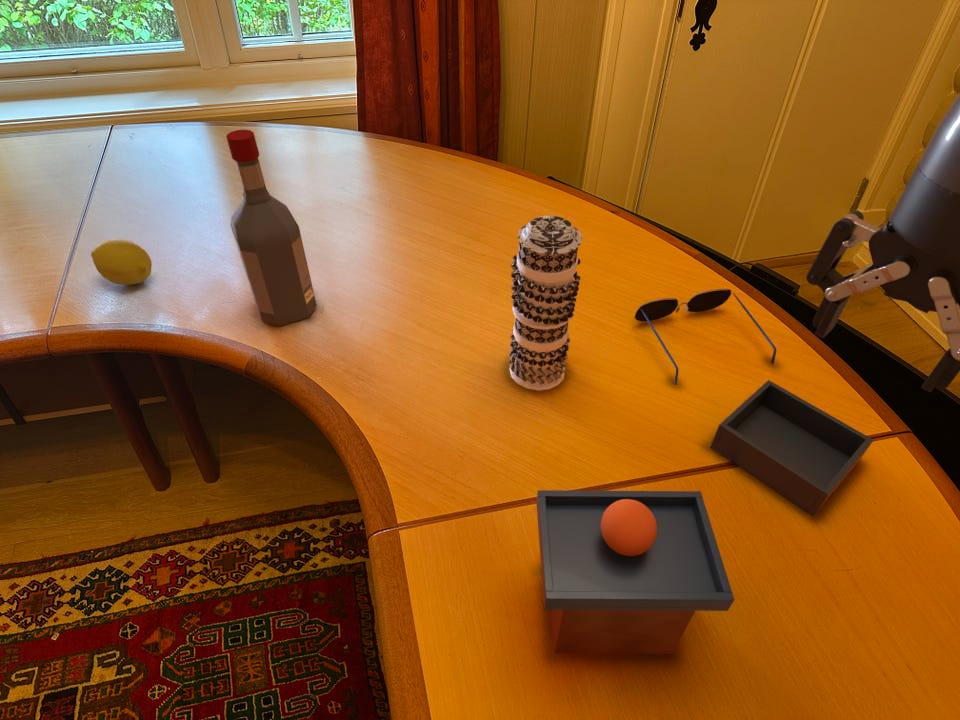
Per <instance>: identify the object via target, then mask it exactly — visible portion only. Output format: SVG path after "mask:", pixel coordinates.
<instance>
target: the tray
mask: <svg viewBox="0 0 960 720" xmlns="http://www.w3.org/2000/svg"><path fill="white" fill-rule="evenodd" d="M623 499H631V500H636V501H638V502H641V503H642V504H644V505H645V506H646V507H648V509H649V510H650V511H651V512H652V514H653V515H654V518H655V520H656V524H657V535H656V539H655V541H654V543H653V544H652V546H651V547H650V548H649V549H648V550H647V551H645V552H644V553H642V554H640V555H636V556H625V555H622V554H619V553H617V552H615V551H614V550H612V549H611V548H610V547H609V546H608V545H607V543H606V542H605V540H604V538H603V536H602V533H601V519H602V516H603V514H604V512H605V510H606V509H607V508H608V507H609V506H610V505H611V504H612V503H614V502H616V501H619V500H623ZM535 501H536V502H535V503H536V516H537V530H538V542H539V543H538V544H539V557H540V558H539V559H540V572H541V583H542V584H541V587H542V595H543V596H542V599H543V610H544V611H545V610H547V611H551V610H661V611H695V612H728V611H729V610H730V608H731V607H732V605H733V603H734V602H735V596H734V594H733V590H732V588H731V584H730V581H729V578H728V574H727V571H726V568H725V564H724V562H723V558H722V555H721V552H720V548H719V545H718V542H717V540H716V539H717V538H716V536H715V533H714V529H713V527H712V524H711V519H710V517H709V514H708V510H707V507H706V504H705V500H704V498H703V494H702V491H701V490H699V491H698V490H697V491H695V490H692V491H691V490H574V489H573V490H571V489H570V490H561V489H560V490H558V489H557V490H554V489H552V490H550V489H549V490H548V489H547V490H546V489H539V490H538V489H537V493H536V500H535Z"/></svg>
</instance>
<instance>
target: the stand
mask: <svg viewBox="0 0 960 720" xmlns="http://www.w3.org/2000/svg"><path fill="white" fill-rule="evenodd" d="M695 613H696V611H661V610H550V616H551V628H552V629H551V630H552V644H553V653H554V654H583V655H584V654H589V655H591V654H593V655H596V654H599V655H601V654H603V655H605V654H606V655H607V654H608V655H613V654H614V655H673V653H674V651H675V650H676V647H677V646H678V644H679V642H680V640H681V639H682V637H683V635H684V633H685V631H686V629H687V628H688V626H689V624H690V622H691V621H692V619H693V616H694V615H695Z"/></svg>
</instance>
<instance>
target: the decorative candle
mask: <svg viewBox="0 0 960 720" xmlns="http://www.w3.org/2000/svg"><path fill="white" fill-rule="evenodd" d="M517 238H518V252H517V254H515V255H513V257H512V261H513V262H512V263H511V264H510V267H511V269H512V271H511V273H510V277H511V278H512V285H511V290H512V293H511V296H510V297H511V299H512V308H511V309H512V313H513V315H514V323H513V328H512V333H511V334H510V339H511V341H510V344H509V345H510V347H511V349H510V351H509V357H510V358H509V360H508V363H509V373H510V377H511V379H512V380H514V382H515V383H516V384H517V385H519V386H521V387H523V388H525V389H527V390H533V391H545V390H547V391H548V390H550V389H552V388H553V389H554V388H555V387H557V386H559V385H560V384H561V382H562V381H563V380H564V379H565V375H566V374H565V373H566V367H567V366H568V364H567V362H566V360H568V358H569V356H568V351H569V349H570V346H569V343H570V342H571V338H570V337H569V335H570V334H569V330H570V326H569V322H570V321H571V320H572V318H573V317H574V312H575V307H576V302H577V298H576V297H577V296H578V291H579V290H580V287H579V286H580V281H581V276H580V275H579V274H578V271H577V269H578V266H579V265H580V264H581V259H580V258H579V256H578V252H579V246H581V244H582V241H583V238H584V237H583V235H582V233H581V231H580V230H579V229H578V228H577V227H575V226H574V224H573V223H572V222H571V221H569V220H568V219H567V218H564V217H561V216H557V215H541V216H538V217H535V218H533V219H532V220H530V221H529V222H528V223H526V224H524V225H523V226H522V227H521V228H519V230H518V232H517Z"/></svg>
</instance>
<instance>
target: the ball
mask: <svg viewBox="0 0 960 720" xmlns="http://www.w3.org/2000/svg"><path fill="white" fill-rule="evenodd" d="M601 533H602V536H603V538H604V540H605V542H606V543H607V545H608V546H609V547H610V548H611V549H612V550H614V551H615V552H617V553H619V554H622V555H625V556H636V555H640V554H642V553H644V552H645V551H647V550H648V549H649V548H650V547H651V546H652V544H653V543H654V541H655V539H656V535H657V524H656V520H655V518H654V515H653V514H652V512H651V511H650V510H649V509H648V507H646V506H645V505H644V504H642V503H641V502H638V501H636V500H631V499H623V500H619V501H616V502H614V503H612V504H611V505H610V506H609V507H608V508H607V509H606V510H605V512H604V514H603V516H602V519H601Z"/></svg>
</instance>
